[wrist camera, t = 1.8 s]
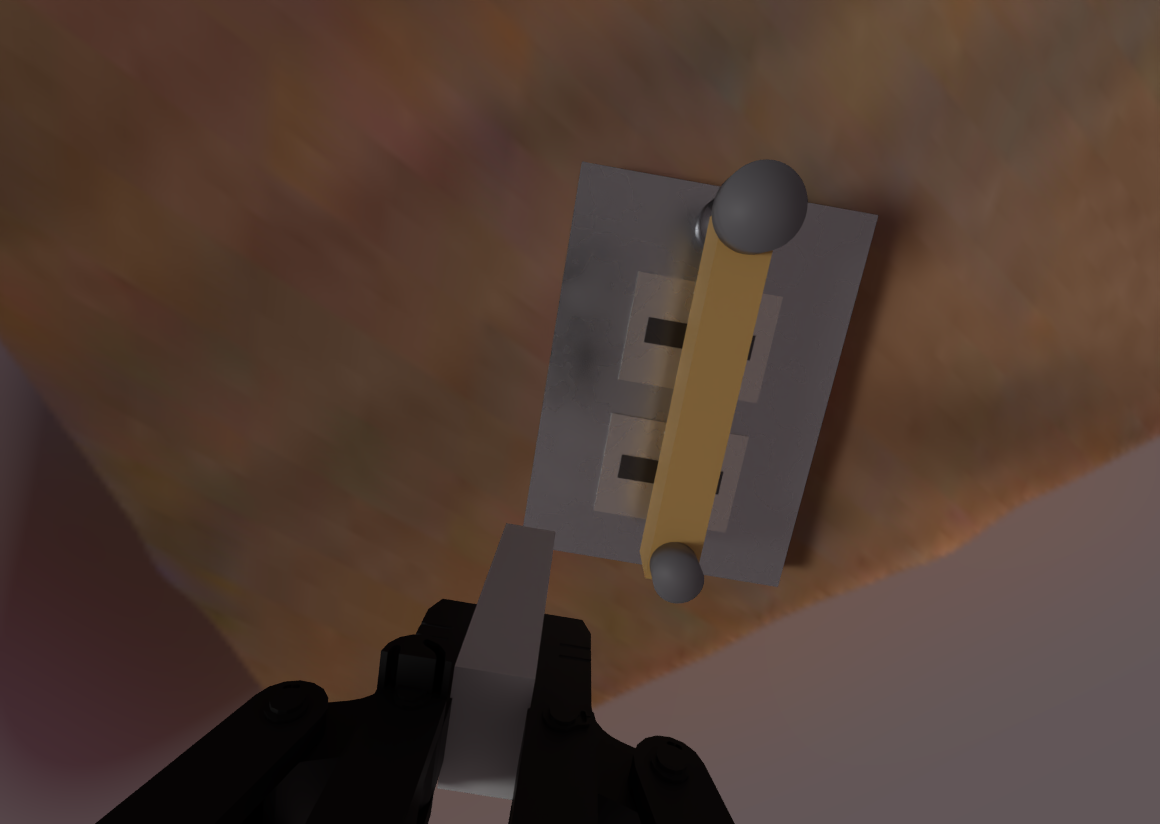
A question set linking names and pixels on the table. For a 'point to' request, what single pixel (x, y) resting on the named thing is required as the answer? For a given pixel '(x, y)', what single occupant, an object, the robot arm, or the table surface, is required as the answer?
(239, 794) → the robot arm
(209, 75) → the table surface
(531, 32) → the table surface
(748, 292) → the yellow wooden bar
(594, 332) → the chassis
